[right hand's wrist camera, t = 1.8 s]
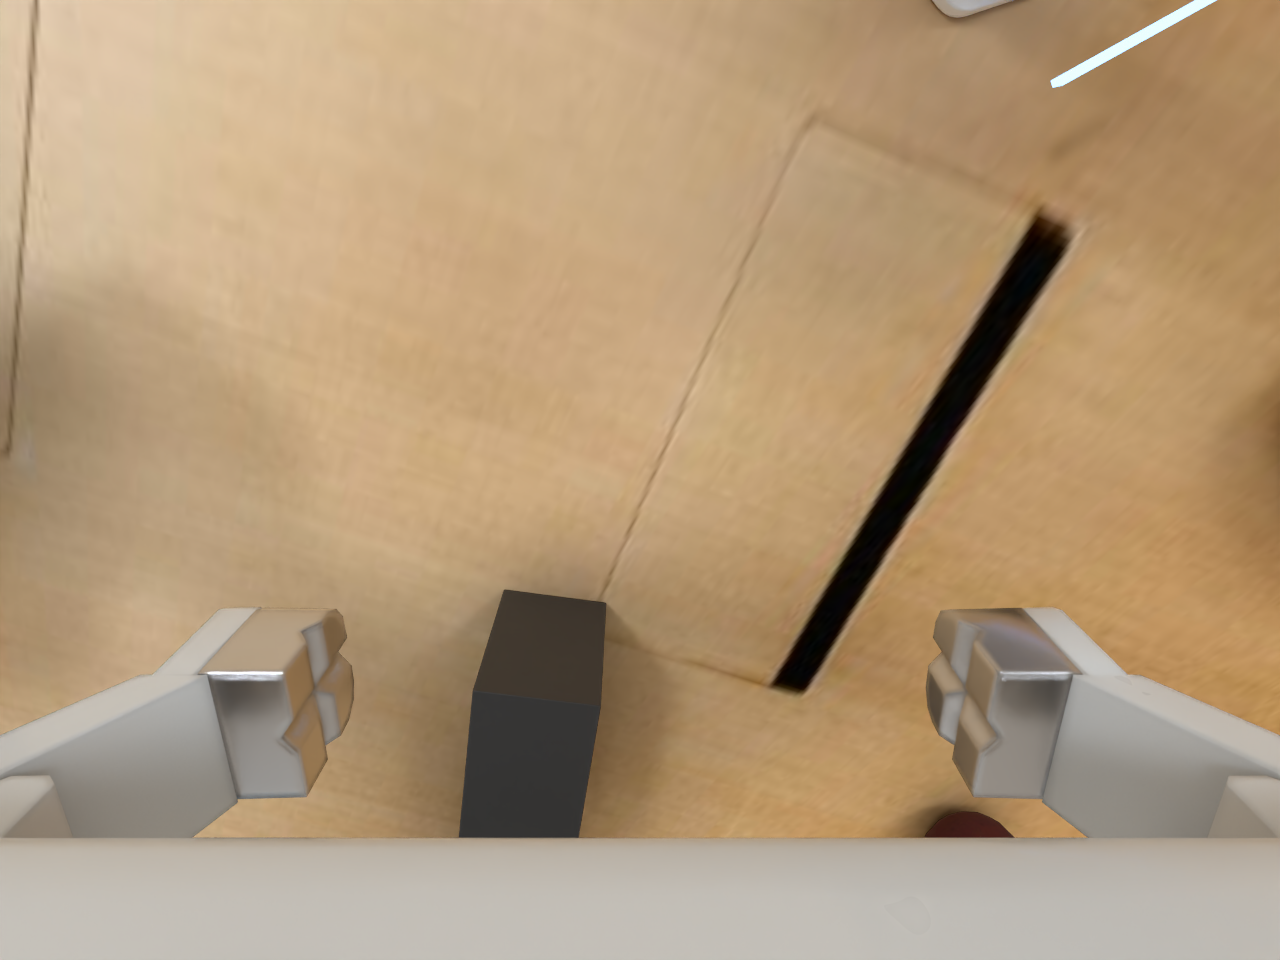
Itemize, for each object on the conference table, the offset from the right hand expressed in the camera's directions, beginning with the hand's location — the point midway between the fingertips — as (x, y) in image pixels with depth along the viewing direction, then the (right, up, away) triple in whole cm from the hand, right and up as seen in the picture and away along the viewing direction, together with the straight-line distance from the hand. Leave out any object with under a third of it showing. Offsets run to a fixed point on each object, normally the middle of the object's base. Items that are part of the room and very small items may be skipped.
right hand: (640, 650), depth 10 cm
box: (-7, -17, +42) cm, 45 cm away
